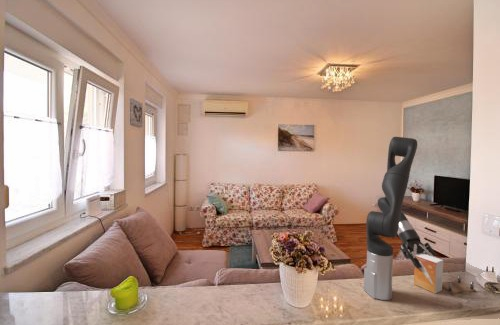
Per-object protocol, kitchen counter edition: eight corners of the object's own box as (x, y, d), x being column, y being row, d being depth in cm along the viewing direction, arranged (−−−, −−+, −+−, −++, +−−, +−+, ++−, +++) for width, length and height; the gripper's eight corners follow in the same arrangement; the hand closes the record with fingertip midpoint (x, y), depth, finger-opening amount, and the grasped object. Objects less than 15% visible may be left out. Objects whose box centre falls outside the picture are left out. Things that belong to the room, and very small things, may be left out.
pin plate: (451, 294, 94) (451, 284, 94) (434, 284, 101) (435, 276, 101) (475, 291, 96) (476, 283, 96) (457, 282, 103) (458, 274, 103)
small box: (413, 284, 101) (414, 255, 101) (420, 281, 104) (422, 252, 104) (435, 294, 94) (436, 262, 94) (442, 290, 97) (443, 259, 97)
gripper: (397, 228, 106) (419, 265, 95) (424, 228, 108) (448, 263, 97) (388, 236, 111) (407, 271, 100) (414, 235, 114) (435, 269, 102)
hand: (427, 267), depth 99 cm, fingers closed on small box, 7 cm apart
